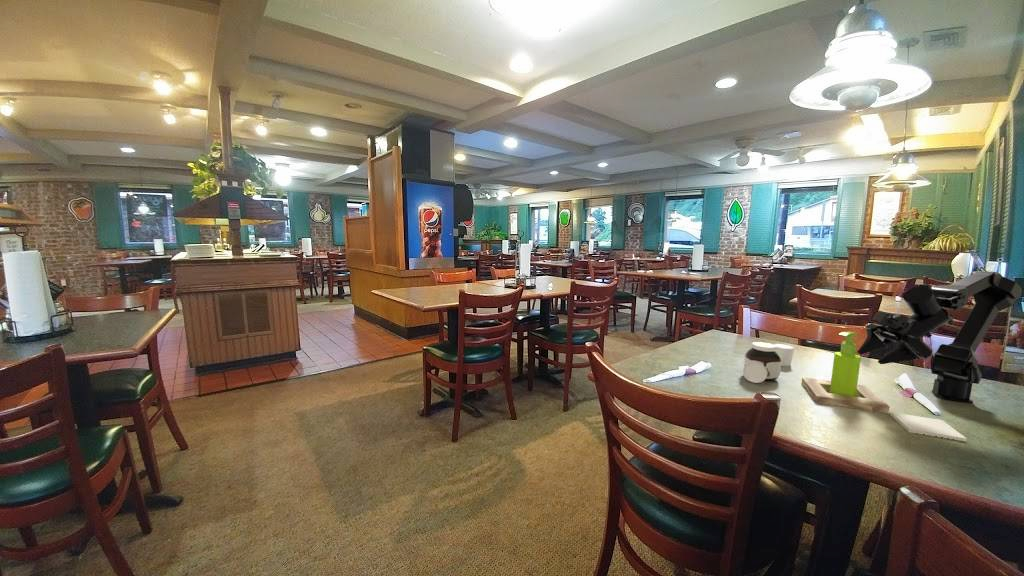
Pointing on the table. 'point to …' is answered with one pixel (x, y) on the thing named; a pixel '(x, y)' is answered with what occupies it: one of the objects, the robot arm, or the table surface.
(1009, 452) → the table surface
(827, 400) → the plate
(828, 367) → the table surface
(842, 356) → the soap dispenser
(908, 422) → the pad
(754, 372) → the spread jar
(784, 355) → the white cup
